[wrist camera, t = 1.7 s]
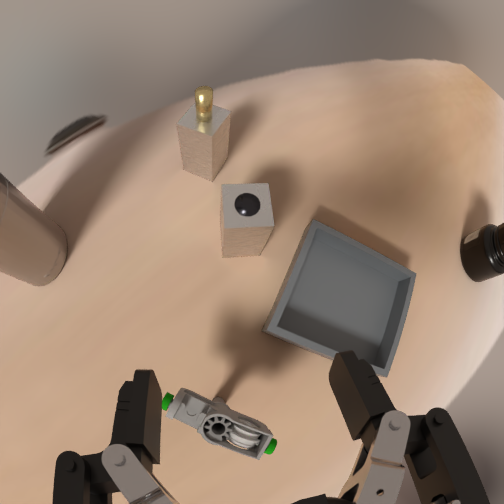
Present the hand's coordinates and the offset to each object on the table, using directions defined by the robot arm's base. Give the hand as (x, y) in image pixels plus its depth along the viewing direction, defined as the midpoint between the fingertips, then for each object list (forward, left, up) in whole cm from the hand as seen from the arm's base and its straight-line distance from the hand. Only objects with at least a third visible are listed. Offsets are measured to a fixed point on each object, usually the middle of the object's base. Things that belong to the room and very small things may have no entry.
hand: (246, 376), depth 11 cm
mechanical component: (+1, -6, -21) cm, 21 cm away
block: (-5, +13, -20) cm, 25 cm away
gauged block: (-14, +21, -20) cm, 32 cm away
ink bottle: (+34, +29, -21) cm, 49 cm away
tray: (+10, +11, -20) cm, 25 cm away
